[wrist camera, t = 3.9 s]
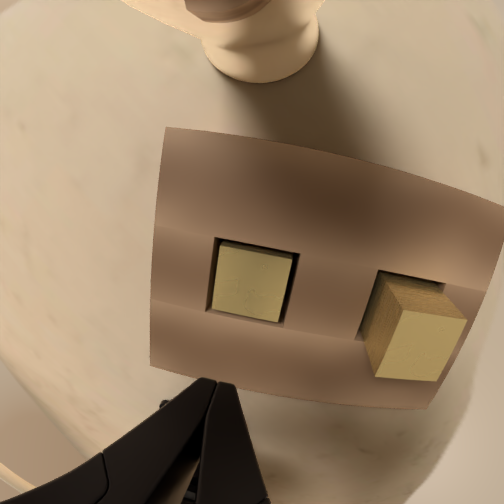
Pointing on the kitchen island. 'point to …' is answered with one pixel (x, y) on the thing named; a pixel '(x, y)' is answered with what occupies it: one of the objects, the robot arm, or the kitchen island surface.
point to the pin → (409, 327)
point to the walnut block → (305, 263)
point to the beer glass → (245, 33)
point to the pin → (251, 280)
